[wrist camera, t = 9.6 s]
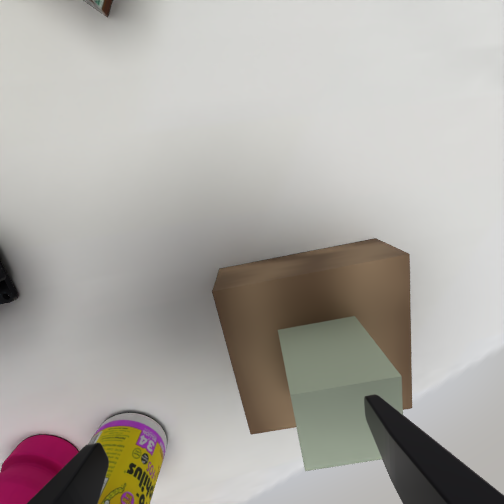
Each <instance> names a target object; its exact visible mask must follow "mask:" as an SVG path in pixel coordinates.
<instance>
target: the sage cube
mask: <svg viewBox="0 0 504 504" xmlns="http://www.w3.org/2000/svg"><path fill="white" fill-rule="evenodd" d="M278 334H279V339H280V344H281V350H282V355H283V360H284V365H285V370H286V376H287V381H288V386H289V391H290V396H291V401H292V406H293V411H294V416H295V422H296V427H297V432H298V437H299V442H300V447H301V452H302V457H303V462H304V467H305V471H309V470H316V469H322V468H329V467H335V466H341V465H348V464H354V463H360V462H367V461H374V460H380V459H382V457H381V455H380V452H379V450H378V447H377V445H376V443H375V440H374V438H373V435H372V433H371V430H370V428H369V426H368V423H367V420H366V417H365V407H364V397H365V396H368V395H373V394H376V395H378V396H380V397H381V398H382V399H384V400H385V401H386V402H387V403H389V404H390V405H391V406H392V407H394V408H395V409H396V410H397V411H399V412H400V413H401V414H402V415H403V404H402V376H401V375H400V373H399V372H398V371H397V370H396V368H395V367H394V366H393V364H392V363H391V362H390V361H389V359H388V358H387V357H386V355H385V354H384V353H383V352H382V350H381V349H380V348H379V346H378V345H377V344H376V343H375V341H374V340H373V339H372V337H371V336H370V335H369V334H368V332H367V331H366V330H365V328H364V327H363V326H362V324H361V323H360V322H359V321H358V319H357V318H356V317H355V316H352V317H346V318H341V319H335V320H330V321H324V322H319V323H313V324H308V325H302V326H297V327H291V328H286V329H280V330H278Z"/></svg>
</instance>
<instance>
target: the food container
mask: <svg viewBox="0 0 504 504" xmlns="http://www.w3.org/2000/svg"><path fill="white" fill-rule="evenodd" d="M84 1H85V2H87V3H88V4H89V5H91V6H92V7H94V8H95V9H97V10H98V11H99V12H101V13H102V14H104V15H105V16H106V17H108V15H109V11H110V8H111V4H112V1H113V0H84Z"/></svg>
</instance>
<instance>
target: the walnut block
mask: <svg viewBox="0 0 504 504" xmlns="http://www.w3.org/2000/svg"><path fill="white" fill-rule="evenodd" d="M212 293H213V297H214V300H215V304H216V308H217V311H218V315H219V319H220V323H221V326H222V330H223V334H224V337H225V341H226V345H227V348H228V352H229V356H230V360H231V363H232V367H233V371H234V374H235V378H236V382H237V385H238V389H239V393H240V396H241V400H242V404H243V408H244V411H245V415H246V419H247V422H248V426H249V430H250V433H251V434H257V433H263V432H269V431H275V430H281V429H288V428H294V427H296V422H295V416H294V411H293V406H292V401H291V396H290V391H289V386H288V381H287V376H286V370H285V365H284V360H283V355H282V350H281V344H280V339H279V334H278V330H280V329H286V328H291V327H297V326H302V325H308V324H313V323H319V322H324V321H330V320H335V319H341V318H346V317H352V316H355V317H356V318H357V319H358V321H359V322H360V323H361V324H362V326H363V327H364V328H365V330H366V331H367V332H368V334H369V335H370V336H371V337H372V339H373V340H374V341H375V343H376V344H377V345H378V346H379V348H380V349H381V350H382V352H383V353H384V354H385V355H386V357H387V358H388V359H389V361H390V362H391V363H392V364H393V366H394V367H395V368H396V370H397V371H398V372H399V373H400V375H401V376H402V404H403V410H404V409H410V408H412V376H411V317H410V258H409V254H408V253H406V252H404V251H402V250H400V249H397V248H395V247H393V246H391V245H389V244H387V243H385V242H382V241H380V240H378V239H370V240H365V241H360V242H355V243H350V244H345V245H339V246H334V247H329V248H324V249H319V250H314V251H308V252H303V253H298V254H293V255H288V256H283V257H277V258H272V259H267V260H262V261H257V262H252V263H246V264H241V265H236V266H231V267H226V268H221V269H219V272H218V275H217V278H216V281H215V284H214V287H213V290H212Z"/></svg>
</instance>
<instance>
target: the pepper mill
mask: <svg viewBox="0 0 504 504" xmlns="http://www.w3.org/2000/svg"><path fill="white" fill-rule="evenodd" d="M77 453H78V451H77V449H76V448H75V447H74V446H73V445H72V444H70V443H69V442H67V441H66V440H63V439H61V438H59V437H55V436H50V435H36V436H33V437H29V438H27V439H26V440H24V441H22V442H21V443H20V444H19V445H18V446H17V447H16V449H15V450H14V451H13V452H12V453H11V454H10V456H9V457H8V458H7V459H6V460H5V461H4V463H3V465H2V468H1V473H0V504H27V503H28V502H29V501H30V500H31V499H32V498H33V497H34V496H35V495H36V494H37V493H38V492H39V491H40V490H41V489H42V488H43V487H44V486H45V485H46V484H47V483H48V482H49V481H50V480H51V479H52V478H53V477H54V476H55V475H56V474H57V473H58V472H59V471H60V470H61V469H62V468H63V467H64V466H65V465H66V464H67V463H68V462H69V461H70V460H71V459H72V458H73V457H74V456H75V455H76V454H77Z"/></svg>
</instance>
